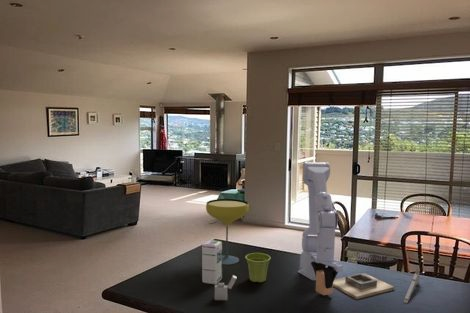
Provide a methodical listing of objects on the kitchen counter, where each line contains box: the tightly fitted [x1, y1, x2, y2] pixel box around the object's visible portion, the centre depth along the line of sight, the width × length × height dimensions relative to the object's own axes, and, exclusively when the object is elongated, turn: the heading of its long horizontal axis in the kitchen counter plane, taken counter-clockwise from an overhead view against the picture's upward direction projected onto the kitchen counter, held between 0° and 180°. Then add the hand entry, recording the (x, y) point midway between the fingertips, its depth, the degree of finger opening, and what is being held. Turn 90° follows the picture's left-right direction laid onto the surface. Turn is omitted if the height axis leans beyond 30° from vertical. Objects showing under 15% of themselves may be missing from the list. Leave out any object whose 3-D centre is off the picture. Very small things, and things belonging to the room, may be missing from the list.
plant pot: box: [245, 252, 272, 283], centre depth 137 cm, size 9×9×9 cm
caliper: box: [403, 267, 420, 304], centre depth 129 cm, size 20×1×6 cm, turn 144°
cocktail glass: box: [205, 198, 250, 266], centre depth 156 cm, size 18×18×25 cm
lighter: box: [214, 274, 237, 301], centre depth 121 cm, size 7×2×8 cm, turn 88°
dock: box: [333, 272, 395, 300], centre depth 133 cm, size 14×18×3 cm
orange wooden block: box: [315, 270, 334, 296], centre depth 125 cm, size 4×4×7 cm
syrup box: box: [201, 239, 223, 285], centre depth 135 cm, size 6×6×14 cm
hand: (324, 285), depth 125 cm, fingers closed on orange wooden block, 4 cm apart
